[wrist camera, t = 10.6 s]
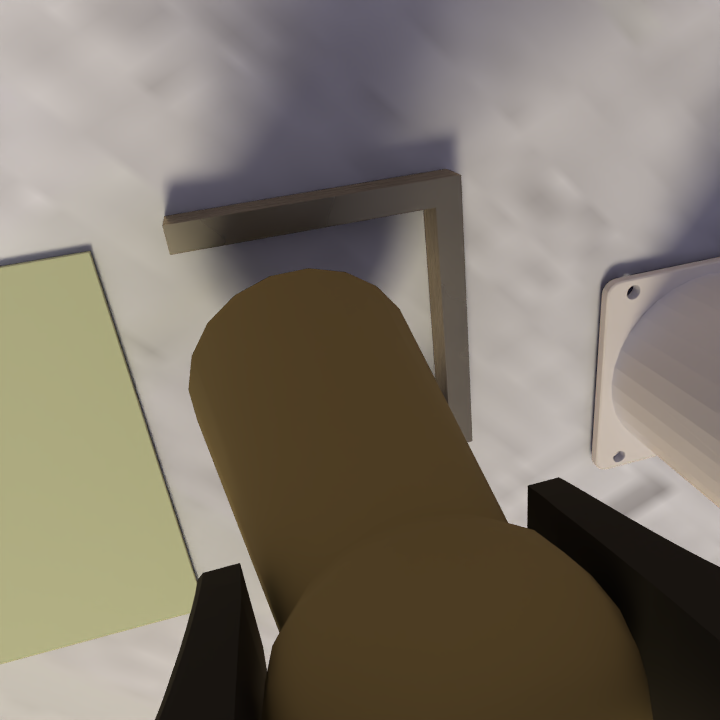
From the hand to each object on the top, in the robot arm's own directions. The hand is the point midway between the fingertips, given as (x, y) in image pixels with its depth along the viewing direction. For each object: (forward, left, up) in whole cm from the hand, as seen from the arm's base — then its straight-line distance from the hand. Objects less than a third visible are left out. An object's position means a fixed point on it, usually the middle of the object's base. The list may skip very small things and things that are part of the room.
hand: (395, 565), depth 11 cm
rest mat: (+9, +3, -10) cm, 14 cm away
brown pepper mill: (0, -1, -7) cm, 7 cm away
